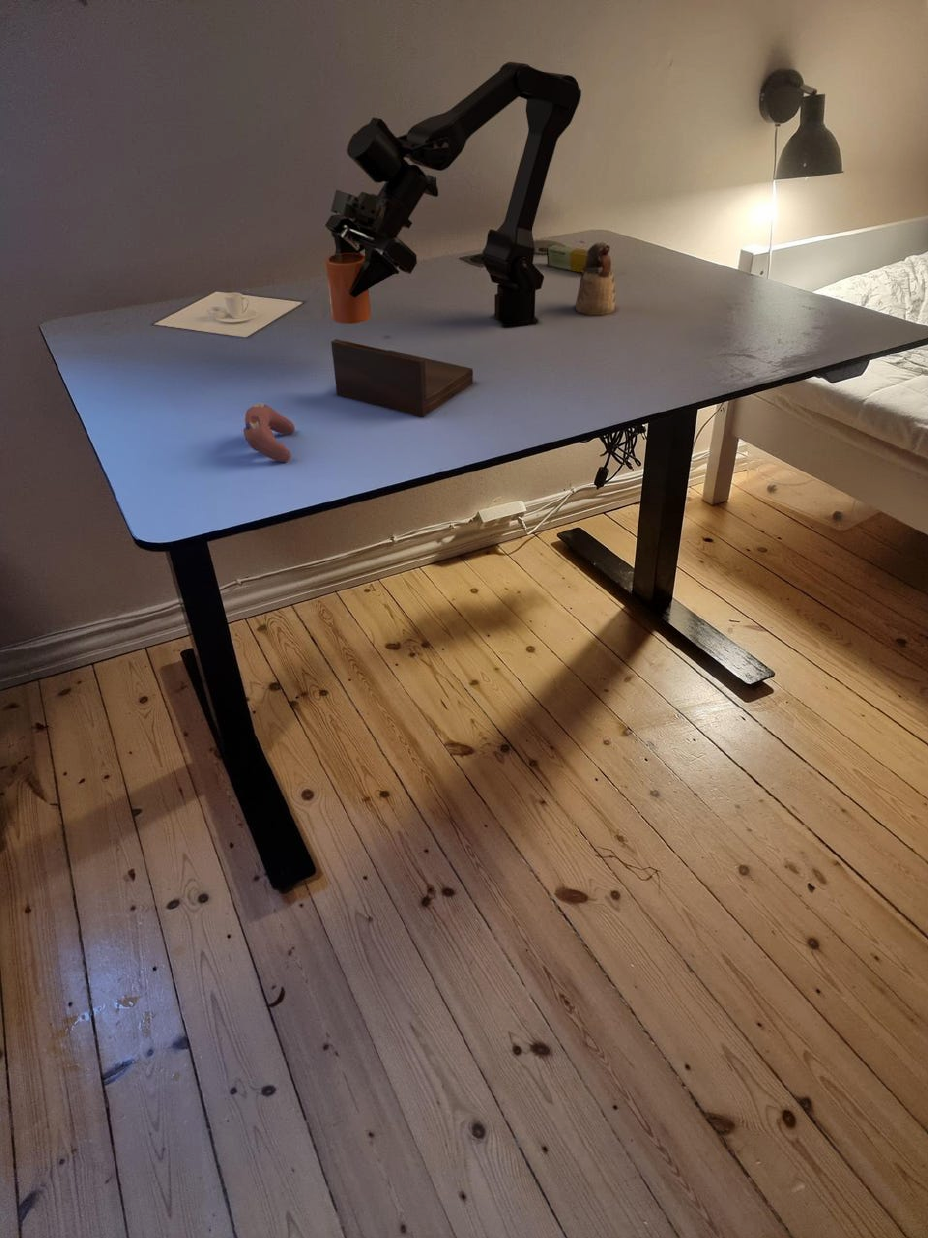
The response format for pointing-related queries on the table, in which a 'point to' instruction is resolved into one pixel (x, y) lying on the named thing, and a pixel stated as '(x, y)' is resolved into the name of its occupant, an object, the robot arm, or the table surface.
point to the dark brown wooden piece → (396, 378)
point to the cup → (346, 289)
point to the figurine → (597, 283)
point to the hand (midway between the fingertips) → (340, 290)
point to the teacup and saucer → (229, 314)
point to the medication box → (566, 257)
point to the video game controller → (267, 431)
